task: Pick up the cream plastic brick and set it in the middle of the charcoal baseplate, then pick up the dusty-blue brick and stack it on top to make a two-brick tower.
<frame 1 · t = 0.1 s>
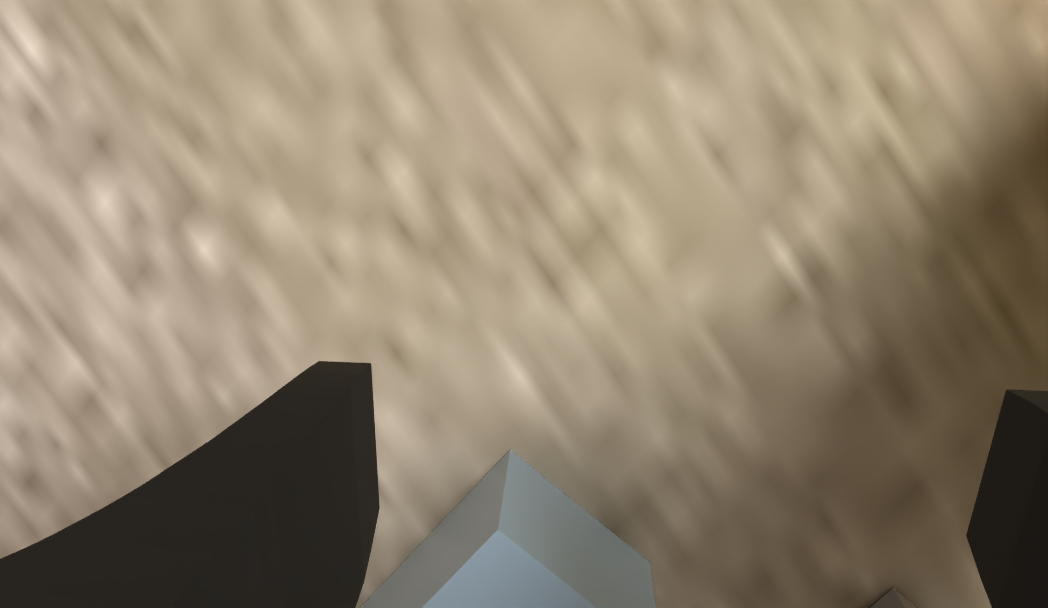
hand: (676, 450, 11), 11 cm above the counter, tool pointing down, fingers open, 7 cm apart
blue brick: (488, 596, 24), on the counter
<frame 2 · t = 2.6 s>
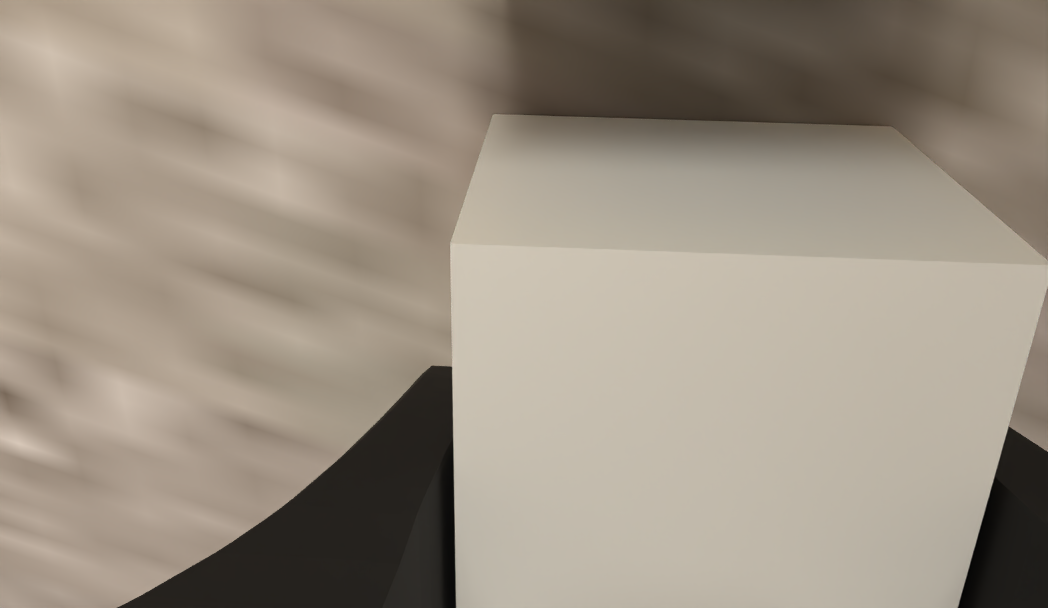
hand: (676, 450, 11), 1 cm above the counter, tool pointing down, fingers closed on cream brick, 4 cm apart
cream brick: (665, 387, 12), on the counter, touching gripper
when the fingers open (3 cm above the counter, at t = 8.2 s): cream brick stays where it is, resting on baseplate.
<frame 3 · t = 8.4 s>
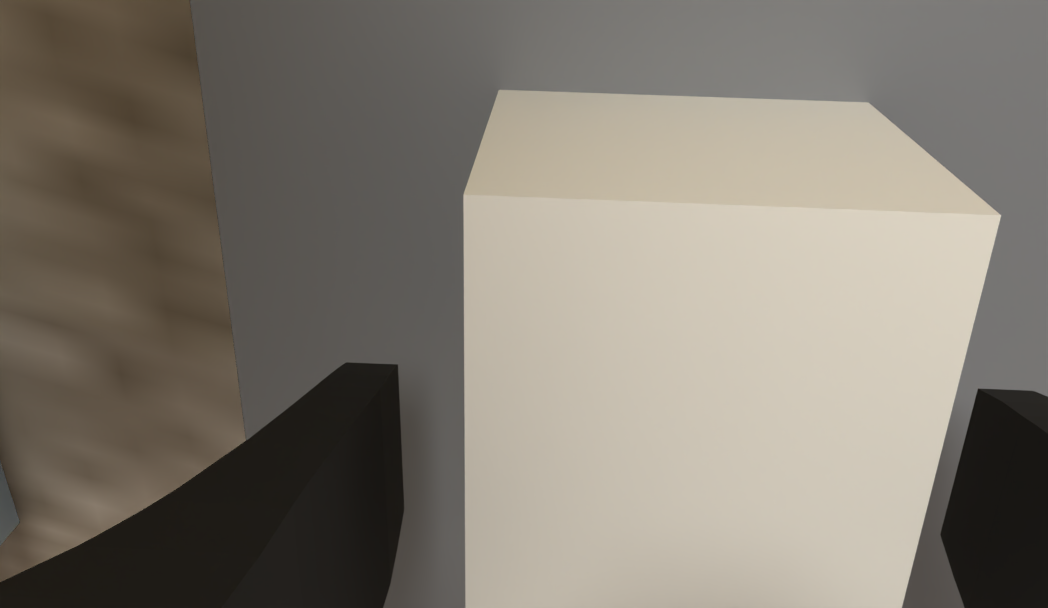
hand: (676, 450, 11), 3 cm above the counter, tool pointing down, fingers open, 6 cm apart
cream brick: (658, 348, 13), point 1 cm above the counter, touching baseplate
baseplate: (654, 320, 14), on the counter
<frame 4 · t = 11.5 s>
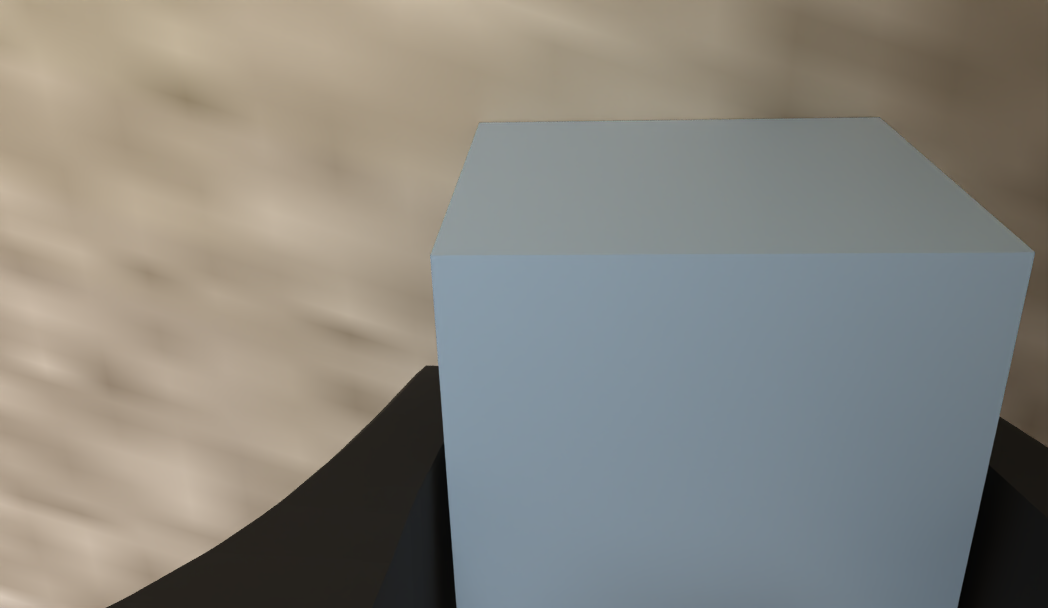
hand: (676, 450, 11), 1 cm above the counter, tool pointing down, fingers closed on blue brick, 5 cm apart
blue brick: (665, 387, 12), on the counter, touching gripper
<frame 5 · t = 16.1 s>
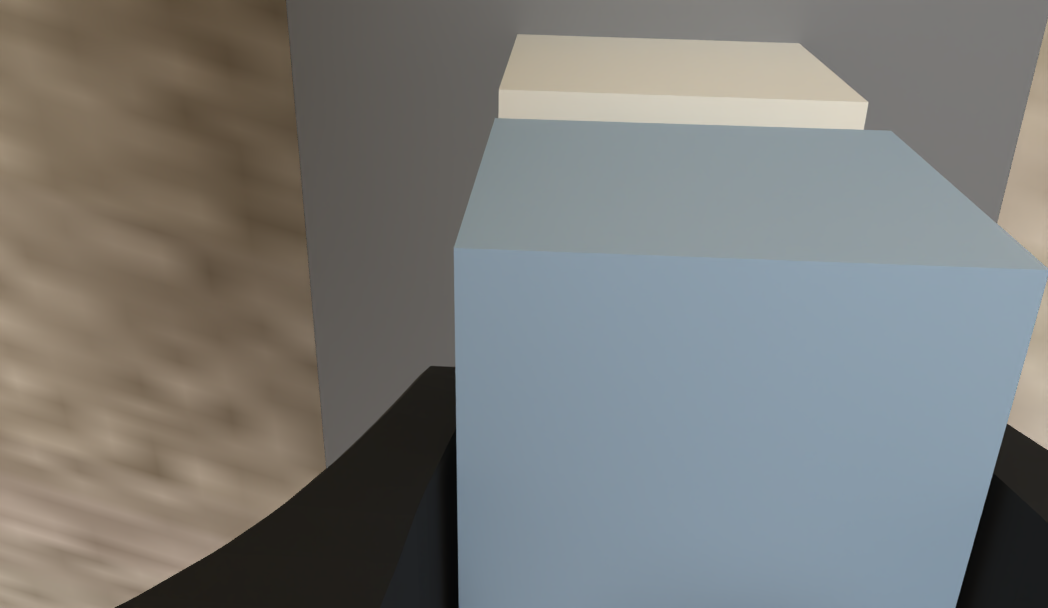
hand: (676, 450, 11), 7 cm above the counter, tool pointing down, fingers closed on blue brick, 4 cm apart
cream brick: (641, 241, 17), point 1 cm above the counter, touching baseplate
blue brick: (666, 389, 12), point 6 cm above the counter, touching gripper
baseplate: (639, 224, 18), on the counter
when the fingers open (7 cm above the counter, at t = 16.1 s): blue brick stays where it is, resting on cream brick.
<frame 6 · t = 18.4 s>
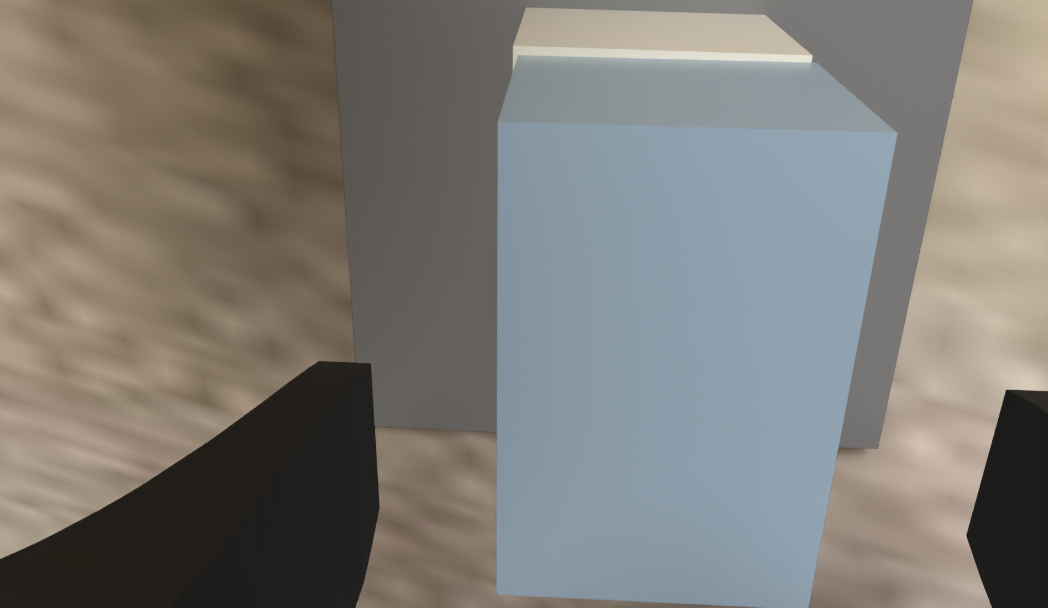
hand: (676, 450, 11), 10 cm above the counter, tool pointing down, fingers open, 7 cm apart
cream brick: (631, 188, 19), point 1 cm above the counter, touching baseplate, blue brick
blue brick: (649, 271, 16), point 5 cm above the counter, touching cream brick
baseplate: (631, 175, 20), on the counter
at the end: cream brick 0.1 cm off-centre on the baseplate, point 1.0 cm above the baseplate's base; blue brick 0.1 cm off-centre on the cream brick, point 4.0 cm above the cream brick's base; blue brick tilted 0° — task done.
